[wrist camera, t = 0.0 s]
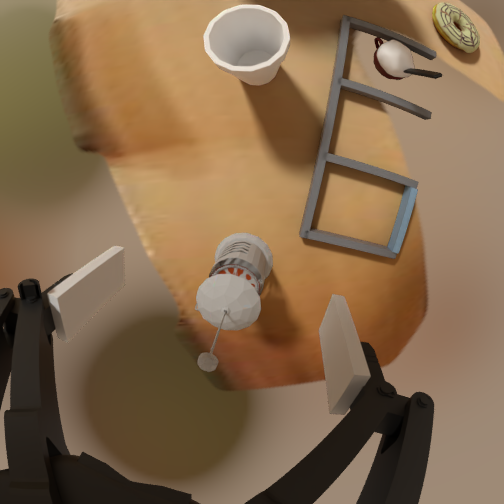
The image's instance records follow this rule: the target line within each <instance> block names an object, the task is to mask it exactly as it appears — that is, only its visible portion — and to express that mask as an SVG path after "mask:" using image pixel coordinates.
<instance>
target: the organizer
mask: <svg viewBox="0 0 504 504" xmlns="http://www.w3.org/2000/svg"><path fill="white" fill-rule="evenodd" d="M349 28H352V29H356V30H359V31H362V32H365V33H368V34H371V35H374V36H377V37H379V38H382V39H384V40H387V41H390V40H396V41H398V42H400V43H402V44H403V45H405V46H406V47H407V48H409V49H410V50H411V51H413V52H415V53H418V54H419V55H421V56H424V57H425V58H427V59H429V60H432V59H434V58H436V52H435V51H433V50H431V49H429V48H427V47H425V46H423V45H421V44H419V43H417V42H415V41H413V40H411V39H409V38H406V37H404V36H402V35H400V34H397V33H395V32H392V31H390V30H387V29H385V28H382V27H379V26H377V25H374V24H371V23H368V22H365V21H362V20H359V19H356V18H353V17H349V16H346V15H343V17H342V19H341V24H340V31H339V38H338V45H337V51H336V57H335V63H334V69H333V75H332V81H331V87H330V92H329V98H328V103H327V108H326V114H325V119H324V124H323V129H322V134H321V139H320V144H319V148H318V153H317V158H316V162H315V167H314V172H313V176H312V181H311V185H310V189H309V194H308V198H307V202H306V207H305V211H304V215H303V219H302V223H301V227H300V231H299V235H300V237H303V238H308V239H312V240H317V241H321V242H326V243H330V244H334V245H339V246H343V247H347V248H351V249H356V250H360V251H364V252H368V253H372V254H377V255H381V256H385V257H389V258H393V259H395V258H396V255H397V253H399V251H400V248H401V245H402V242H403V239H404V236H405V233H406V230H407V227H408V223H409V220H410V217H411V213H412V210H413V206H414V203H415V199H416V195H417V191H418V190H417V185H418V182H417V181H415V180H412V179H409V178H407V177H404V176H401V175H398V174H395V173H392V172H390V171H387V170H384V169H381V168H378V167H374V166H371V165H368V164H365V163H362V162H358V161H355V160H351V159H348V158H344V157H341V156H337V155H333V154H330V153H328V149H329V145H330V140H331V135H332V130H333V125H334V120H335V115H336V109H337V104H338V99H339V93H340V88H341V89H344V90H347V91H351V92H354V93H357V94H360V95H363V96H366V97H369V98H372V99H375V100H378V101H381V102H383V103H386V104H389V105H391V106H394V107H397V108H399V109H402V110H404V111H407V112H409V113H411V114H413V115H416V116H418V117H420V118H422V119H425V120H426V119H431V112H430V111H428V110H426V109H424V108H422V107H419V106H417V105H415V104H413V103H410V102H408V101H406V100H403V99H401V98H398V97H396V96H394V95H391V94H388V93H386V92H383V91H380V90H378V89H375V88H372V87H369V86H366V85H363V84H360V83H357V82H354V81H351V80H347V79H344V78H342V75H343V69H344V63H345V56H346V50H347V43H348V35H349ZM326 161H328V162H332V163H336V164H339V165H343V166H347V167H350V168H354V169H357V170H360V171H364V172H367V173H370V174H374V175H377V176H380V177H383V178H386V179H389V180H392V181H395V182H398V183H401V184H404V185H405V189H404V193H403V197H402V200H401V204H400V208H399V211H398V215H397V218H396V221H395V225H394V228H393V231H392V234H391V237H390V240H389V243H388V246H383V245H379V244H375V243H371V242H367V241H363V240H359V239H355V238H351V237H347V236H343V235H339V234H334V233H330V232H326V231H322V230H317V229H313V228H310V227H311V223H312V219H313V215H314V211H315V207H316V202H317V198H318V194H319V190H320V186H321V181H322V177H323V172H324V168H325V163H326Z"/></svg>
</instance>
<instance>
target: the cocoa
mask: <svg viewBox="0 0 504 504" xmlns="http://www.w3.org/2000/svg"><path fill="white" fill-rule="evenodd" d="M378 41H379V43H380V46H379V44H378ZM375 45H376V48H377V50H376V51H375V53H374V64H375V67H376V69H377V70H378V71H379V72H380V73H381V75H383V76H385V77H386V78H388V79H396V80H400V79H403V78H405V77H409V76H410V75H412V74H414V75H419V76H425V77H430V78H435V79H436V78H439V77H442V74H441V73H438V72H432V71H426V70H420V69H415V67H414V64H413V57H412V54H411V52H410V49H409V48H407V47H406V46H405V45H403V44H402V43H400V42H398V41H396V40H390V41H388V42H386V43H383V41H382V40H381V39H380V38H379V37H377V38H375Z"/></svg>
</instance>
